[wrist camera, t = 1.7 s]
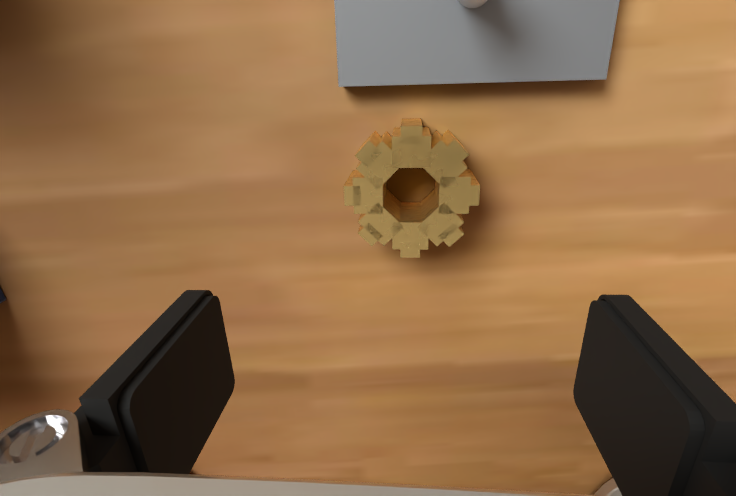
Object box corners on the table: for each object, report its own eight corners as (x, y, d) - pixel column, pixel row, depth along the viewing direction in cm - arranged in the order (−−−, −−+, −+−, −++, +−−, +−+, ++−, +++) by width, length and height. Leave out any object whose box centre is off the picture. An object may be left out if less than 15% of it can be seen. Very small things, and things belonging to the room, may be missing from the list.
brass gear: (473, 117, 25) (484, 124, 21) (466, 233, 27) (474, 258, 24) (350, 119, 25) (340, 127, 22) (355, 232, 28) (347, 256, 24)
